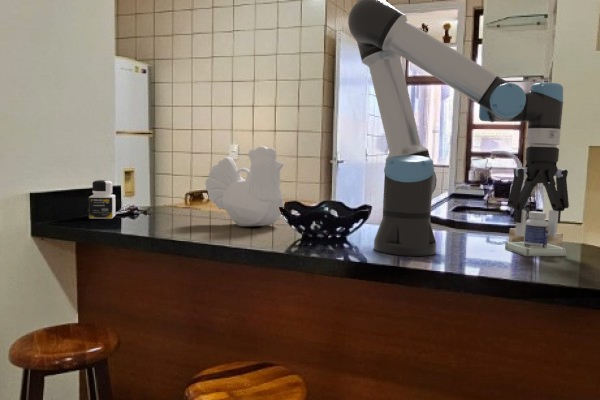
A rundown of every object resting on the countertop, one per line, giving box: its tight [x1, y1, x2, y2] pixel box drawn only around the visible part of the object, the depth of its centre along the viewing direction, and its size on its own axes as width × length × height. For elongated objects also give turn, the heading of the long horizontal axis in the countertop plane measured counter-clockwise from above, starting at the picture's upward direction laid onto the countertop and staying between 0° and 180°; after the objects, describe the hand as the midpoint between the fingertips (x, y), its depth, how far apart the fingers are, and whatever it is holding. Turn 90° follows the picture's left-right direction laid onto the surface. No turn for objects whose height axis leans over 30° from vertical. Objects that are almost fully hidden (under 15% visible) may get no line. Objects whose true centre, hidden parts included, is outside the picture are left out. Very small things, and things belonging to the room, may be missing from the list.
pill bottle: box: [524, 210, 548, 248], centre depth 134 cm, size 5×5×10 cm
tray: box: [504, 241, 567, 257], centre depth 134 cm, size 11×9×2 cm
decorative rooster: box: [204, 145, 285, 227], centre depth 164 cm, size 25×16×25 cm, turn 63°
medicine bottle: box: [88, 179, 116, 220], centre depth 170 cm, size 7×7×12 cm
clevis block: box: [508, 227, 564, 248], centre depth 145 cm, size 10×9×4 cm
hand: (535, 235), depth 134 cm, fingers open, 8 cm apart
